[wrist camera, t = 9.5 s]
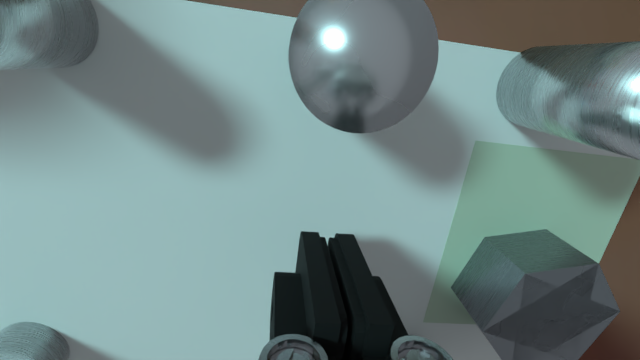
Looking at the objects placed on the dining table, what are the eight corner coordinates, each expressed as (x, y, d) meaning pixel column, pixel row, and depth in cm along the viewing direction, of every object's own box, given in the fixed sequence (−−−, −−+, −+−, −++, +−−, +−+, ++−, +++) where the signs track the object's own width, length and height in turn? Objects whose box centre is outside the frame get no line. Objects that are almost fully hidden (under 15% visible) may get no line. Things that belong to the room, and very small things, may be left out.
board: (531, 359, 17) (545, 377, 16) (-12, 345, 14) (-34, 367, 13) (655, 77, 13) (685, 78, 12) (-108, -42, 9) (-153, -53, 8)
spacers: (462, 379, 16) (537, 514, 11) (2, 372, 13) (-154, 544, 9) (582, 52, 11) (798, 47, 6) (-101, -58, 9) (-573, -200, 4)
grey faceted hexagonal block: (558, 312, 15) (607, 357, 13) (448, 328, 15) (477, 377, 12) (576, 225, 13) (634, 258, 11) (453, 241, 13) (487, 278, 11)
